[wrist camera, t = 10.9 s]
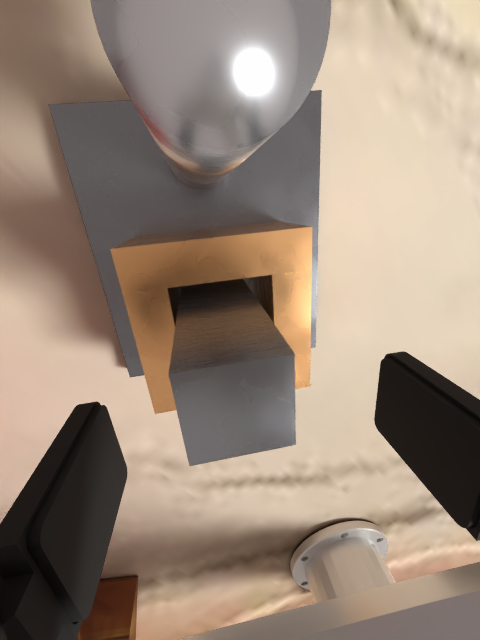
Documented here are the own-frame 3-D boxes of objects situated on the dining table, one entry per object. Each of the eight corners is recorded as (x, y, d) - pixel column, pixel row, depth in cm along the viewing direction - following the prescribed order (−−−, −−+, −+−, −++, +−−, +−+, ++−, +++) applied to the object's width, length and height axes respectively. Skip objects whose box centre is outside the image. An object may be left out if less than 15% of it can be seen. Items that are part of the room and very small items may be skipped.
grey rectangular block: (237, 271, 18) (294, 353, 8) (242, 321, 19) (295, 444, 9) (182, 277, 17) (168, 373, 7) (191, 328, 19) (189, 466, 9)
